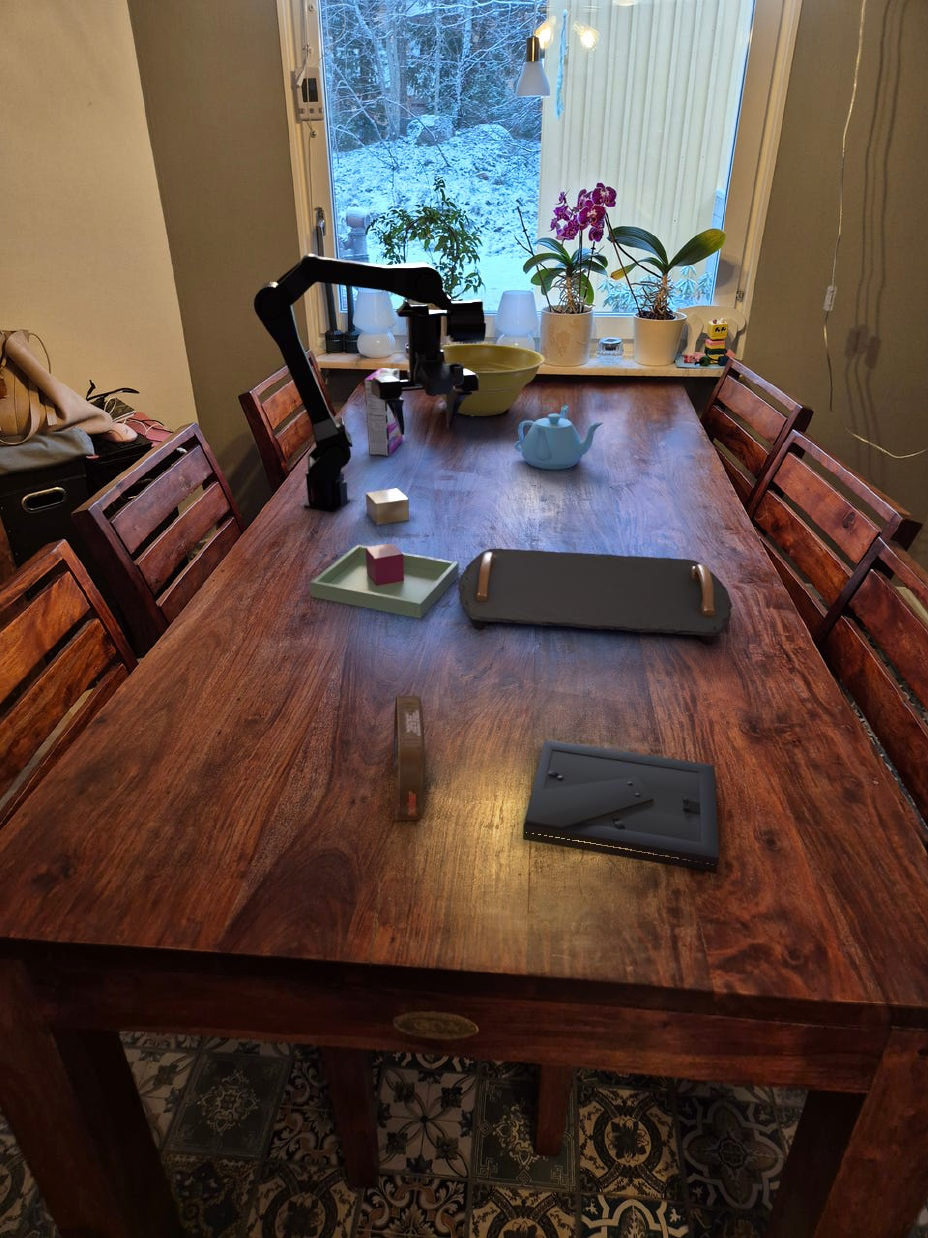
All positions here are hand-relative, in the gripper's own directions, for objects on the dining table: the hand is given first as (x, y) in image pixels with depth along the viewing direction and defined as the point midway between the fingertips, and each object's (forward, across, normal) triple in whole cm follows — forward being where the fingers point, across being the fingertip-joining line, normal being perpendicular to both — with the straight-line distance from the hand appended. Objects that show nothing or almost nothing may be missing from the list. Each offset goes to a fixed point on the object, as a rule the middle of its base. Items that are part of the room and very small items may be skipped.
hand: (426, 431), depth 149 cm
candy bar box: (+13, +3, +33) cm, 35 cm away
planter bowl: (+13, +36, +55) cm, 67 cm away
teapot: (+13, +33, +10) cm, 37 cm away
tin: (+13, -31, -76) cm, 83 cm away
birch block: (+13, -10, -6) cm, 17 cm away
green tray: (+13, -19, -32) cm, 39 cm away
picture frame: (+13, -12, -87) cm, 89 cm away
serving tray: (+13, +7, -48) cm, 51 cm away
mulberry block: (+12, -18, -30) cm, 37 cm away
